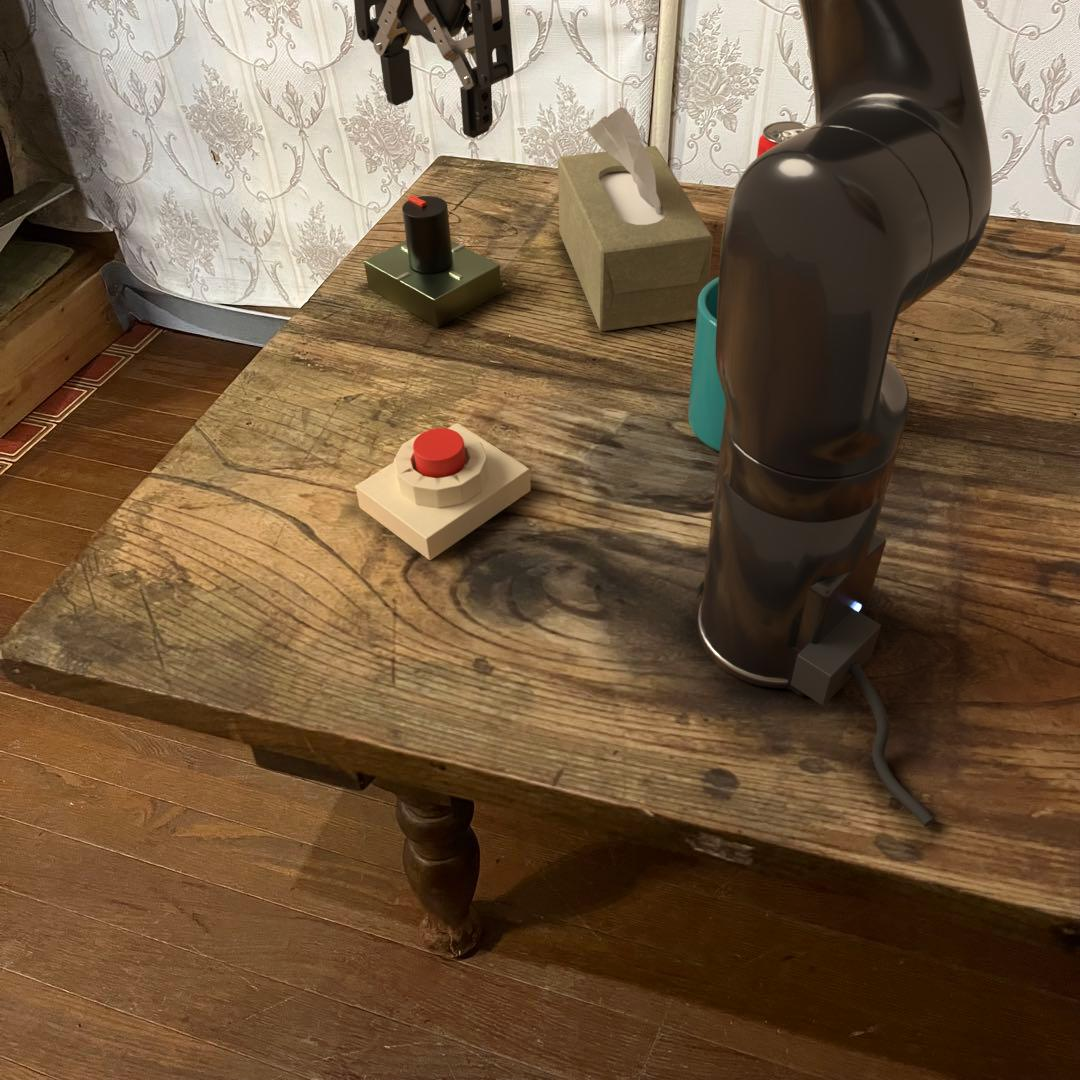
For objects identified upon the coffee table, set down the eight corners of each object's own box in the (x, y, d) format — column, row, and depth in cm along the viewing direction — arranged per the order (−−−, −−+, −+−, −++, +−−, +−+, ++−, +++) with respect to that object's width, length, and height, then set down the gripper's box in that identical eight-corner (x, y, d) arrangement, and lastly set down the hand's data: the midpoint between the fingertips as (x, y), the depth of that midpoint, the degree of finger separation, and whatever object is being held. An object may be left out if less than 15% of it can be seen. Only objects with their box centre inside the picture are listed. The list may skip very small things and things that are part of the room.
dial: (461, 261, 95) (456, 202, 91) (428, 278, 93) (421, 218, 89) (433, 246, 97) (426, 188, 93) (400, 262, 95) (392, 204, 91)
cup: (702, 491, 77) (715, 366, 69) (679, 393, 85) (689, 271, 77) (823, 484, 77) (851, 359, 69) (788, 387, 85) (810, 265, 77)
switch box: (531, 490, 77) (529, 449, 74) (429, 561, 72) (423, 520, 70) (459, 444, 81) (455, 403, 79) (359, 507, 77) (350, 466, 74)
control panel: (502, 292, 97) (500, 262, 95) (436, 329, 93) (433, 298, 91) (432, 256, 102) (429, 226, 100) (367, 289, 98) (362, 259, 96)
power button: (476, 461, 74) (474, 442, 73) (438, 486, 73) (435, 467, 71) (443, 439, 76) (440, 421, 75) (405, 463, 74) (402, 444, 73)
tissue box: (558, 232, 105) (555, 71, 93) (652, 220, 106) (659, 60, 95) (601, 334, 91) (603, 162, 80) (707, 320, 93) (724, 148, 81)
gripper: (304, -133, 70) (341, 107, 81) (451, -92, 63) (468, 163, 75) (388, -155, 73) (411, 77, 85) (535, -119, 67) (539, 128, 78)
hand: (438, 117), depth 80 cm, fingers open, 8 cm apart
